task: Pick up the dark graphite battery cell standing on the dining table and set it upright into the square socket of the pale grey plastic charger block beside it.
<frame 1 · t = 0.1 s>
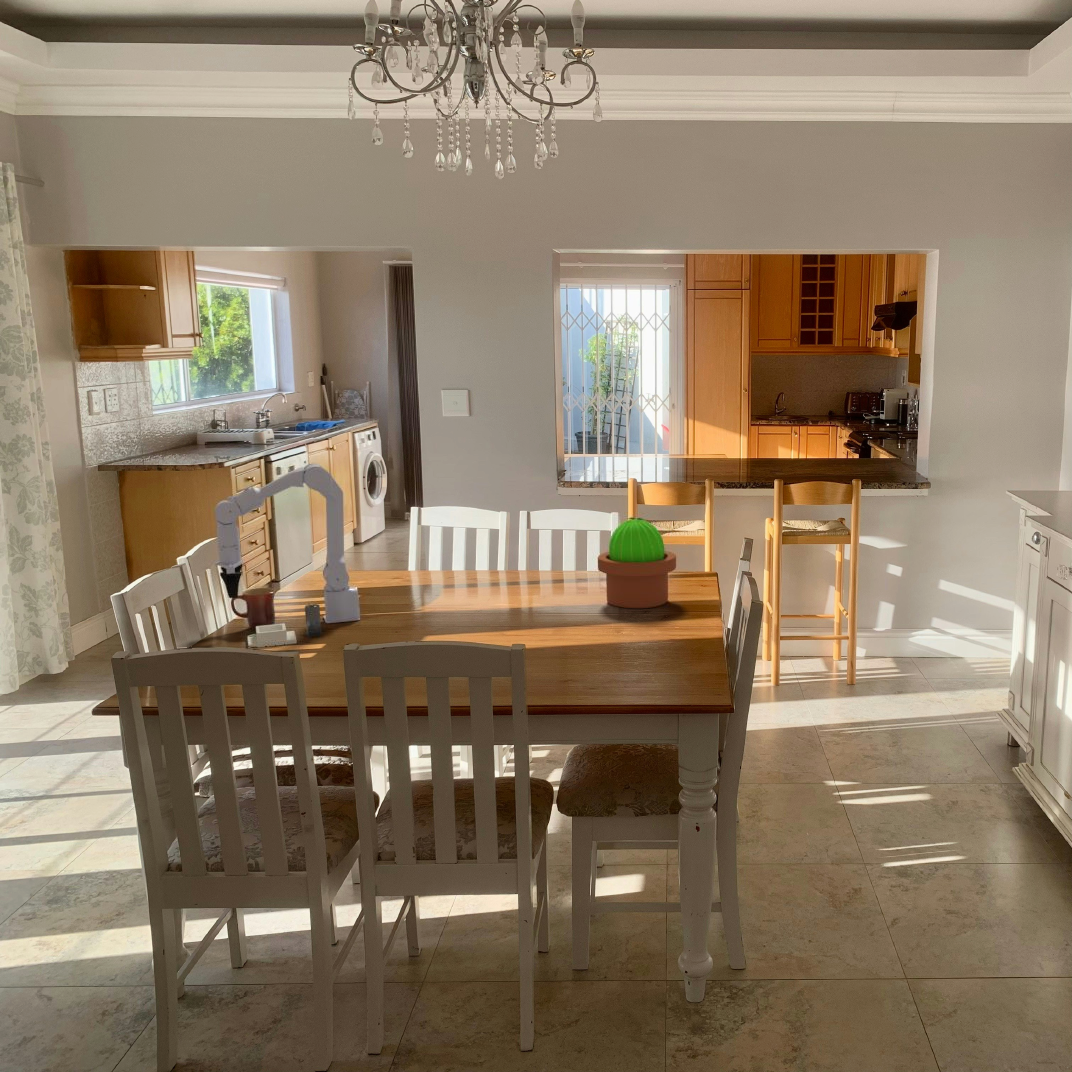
hand: (233, 594, 272), 10 cm above the table, fingers open, 7 cm apart
mug: (256, 628, 275), on the table
charger: (271, 641, 261), on the table
potted cactus: (637, 602, 290), on the table
cell: (314, 635, 266), on the table
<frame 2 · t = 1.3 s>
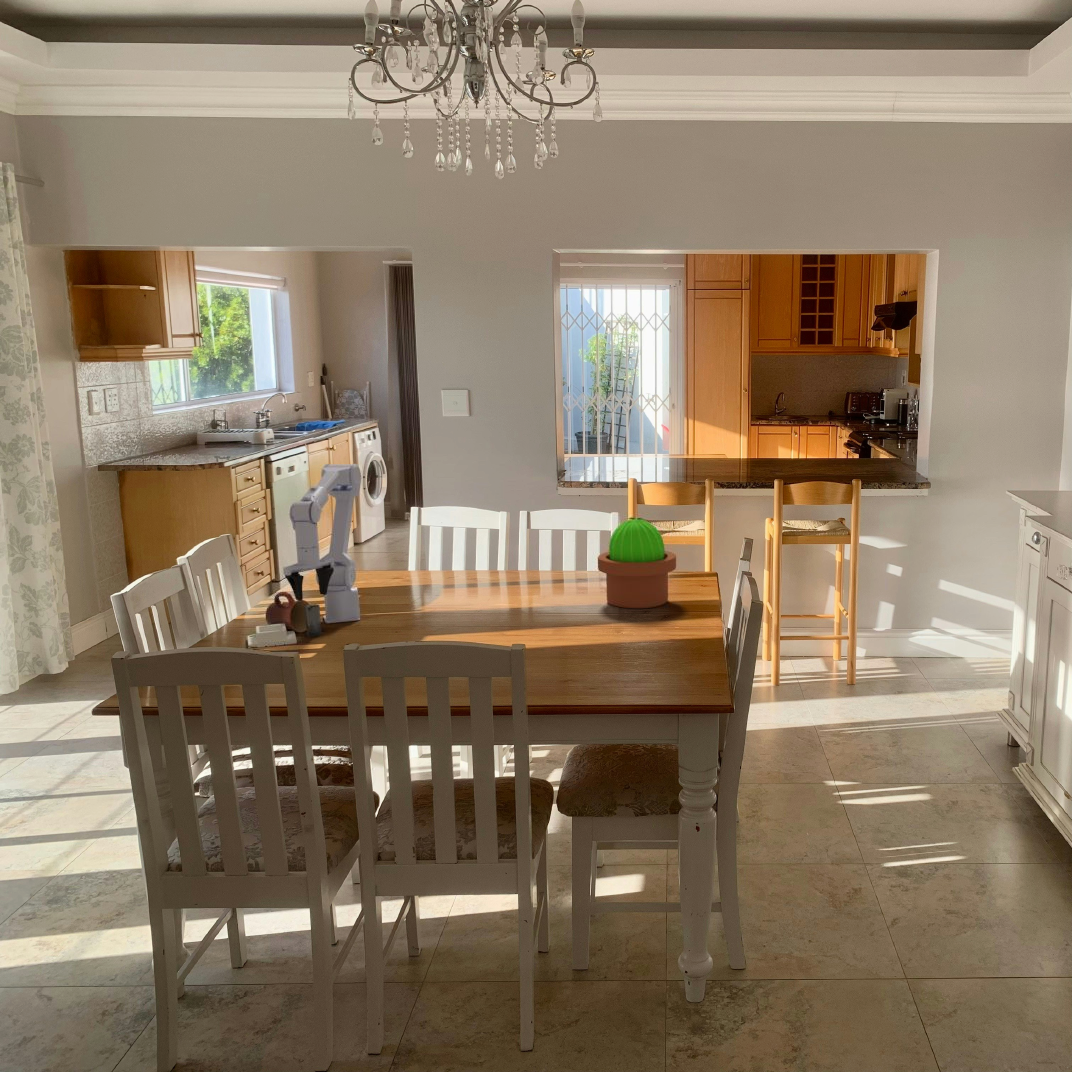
hand: (311, 597, 264), 10 cm above the table, fingers open, 7 cm apart
mug: (270, 610, 273), point 5 cm above the table
everything else where it was.
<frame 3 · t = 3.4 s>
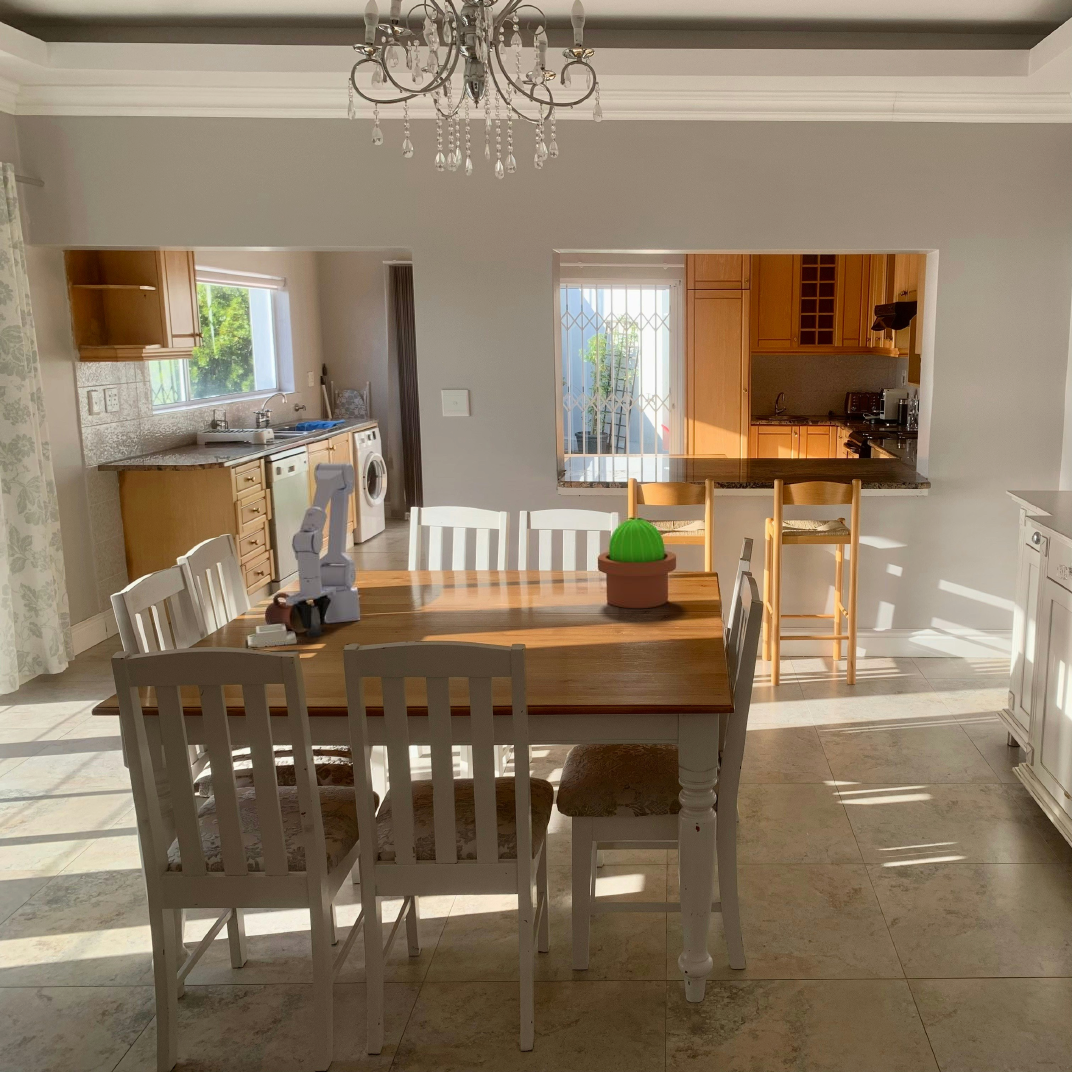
hand: (313, 626, 265), 2 cm above the table, fingers closed on cell, 4 cm apart
mug: (269, 610, 273), point 5 cm above the table, touching charger
cell: (314, 635, 266), on the table, touching gripper
everything else where it was.
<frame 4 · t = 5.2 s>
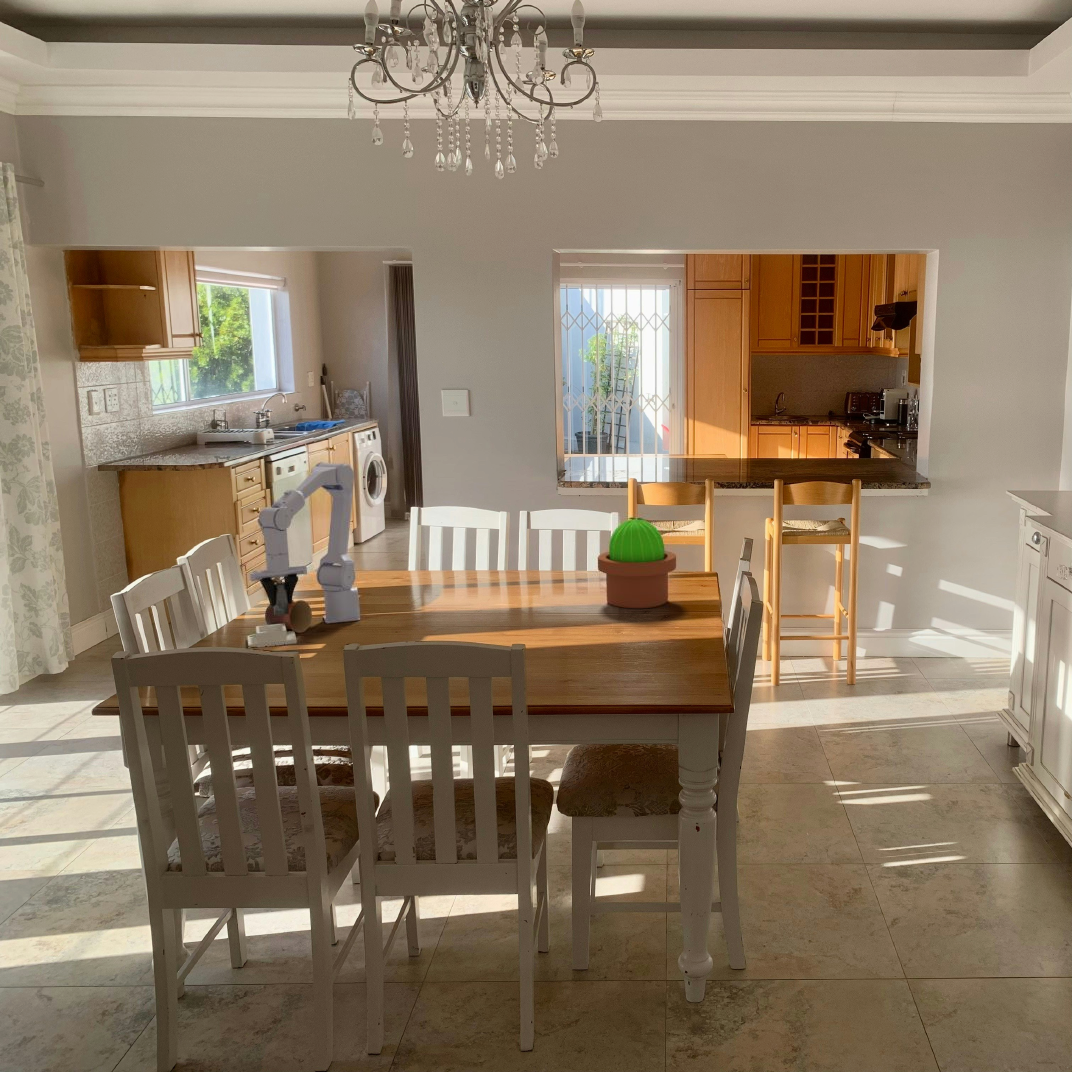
hand: (280, 604, 261), 10 cm above the table, fingers closed on cell, 4 cm apart
cell: (281, 613, 261), point 7 cm above the table, touching gripper
everything else where it was.
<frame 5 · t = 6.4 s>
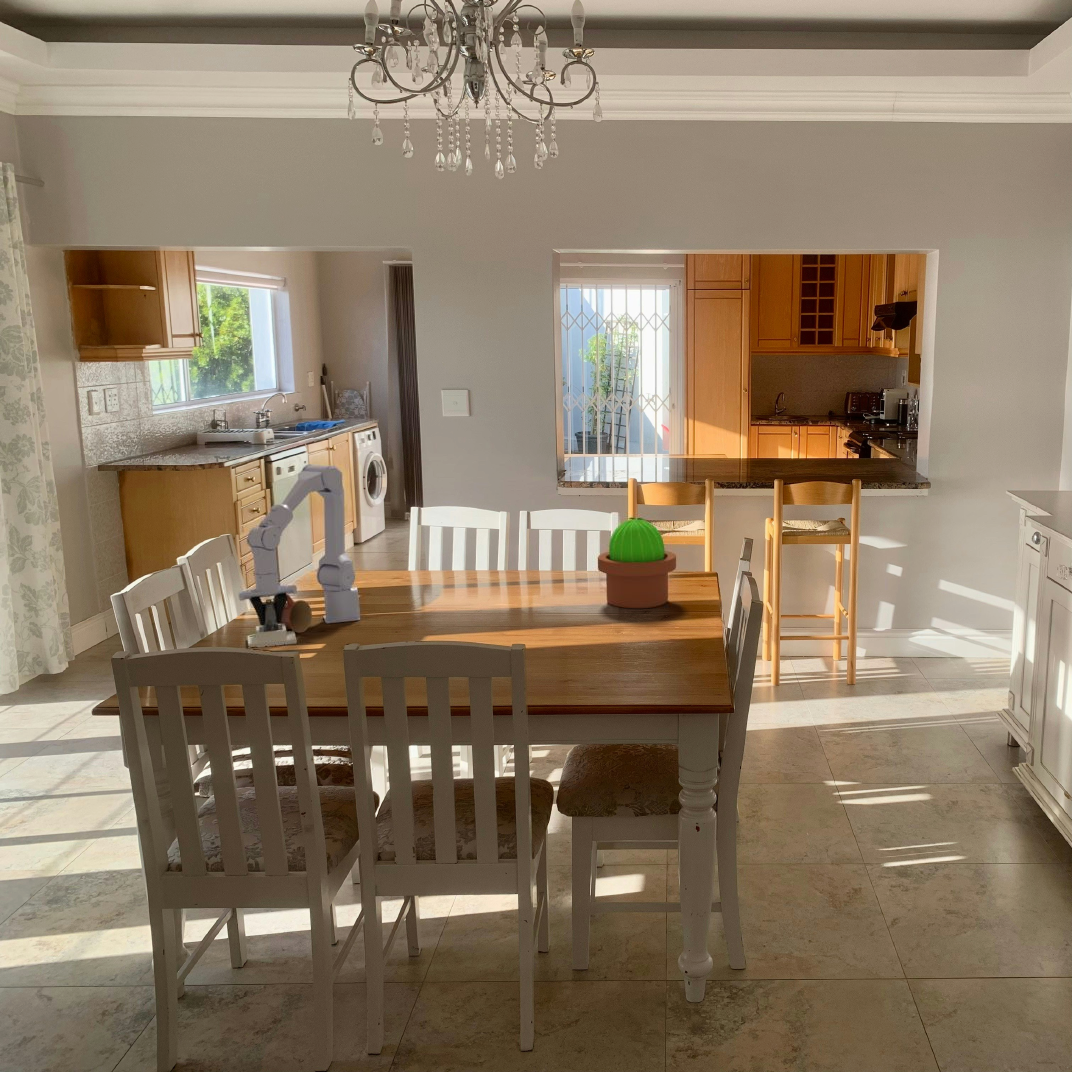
hand: (270, 623, 261), 5 cm above the table, fingers closed on cell, 4 cm apart
cell: (271, 632, 261), point 2 cm above the table, touching gripper
everything else where it was.
when the fingers open (5 cm above the table, at t = 7.1 s): cell drops 1 cm, resting on charger.
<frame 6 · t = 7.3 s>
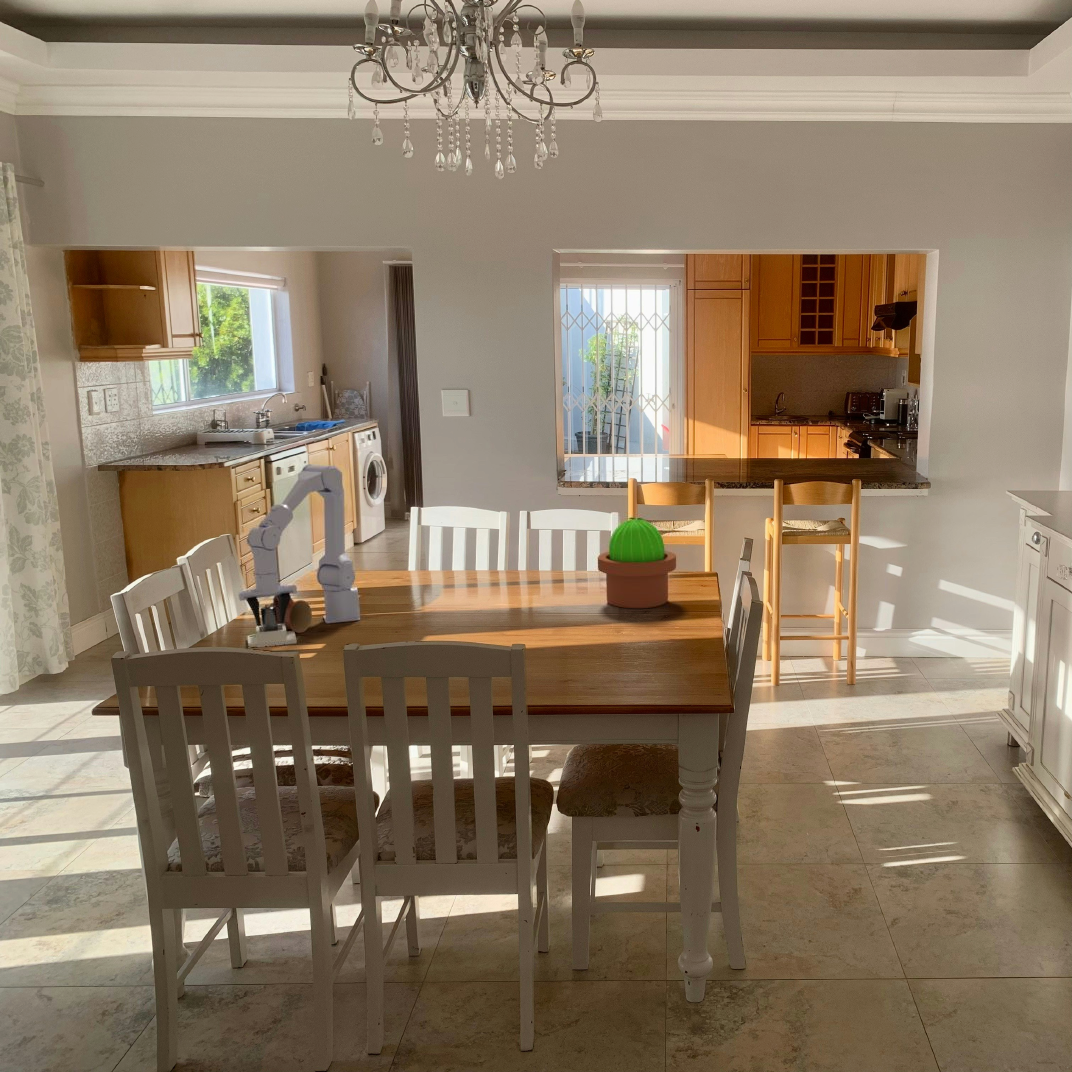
hand: (270, 623, 261), 5 cm above the table, fingers open, 5 cm apart
cell: (271, 637, 261), point 1 cm above the table, touching charger
everything else where it was.
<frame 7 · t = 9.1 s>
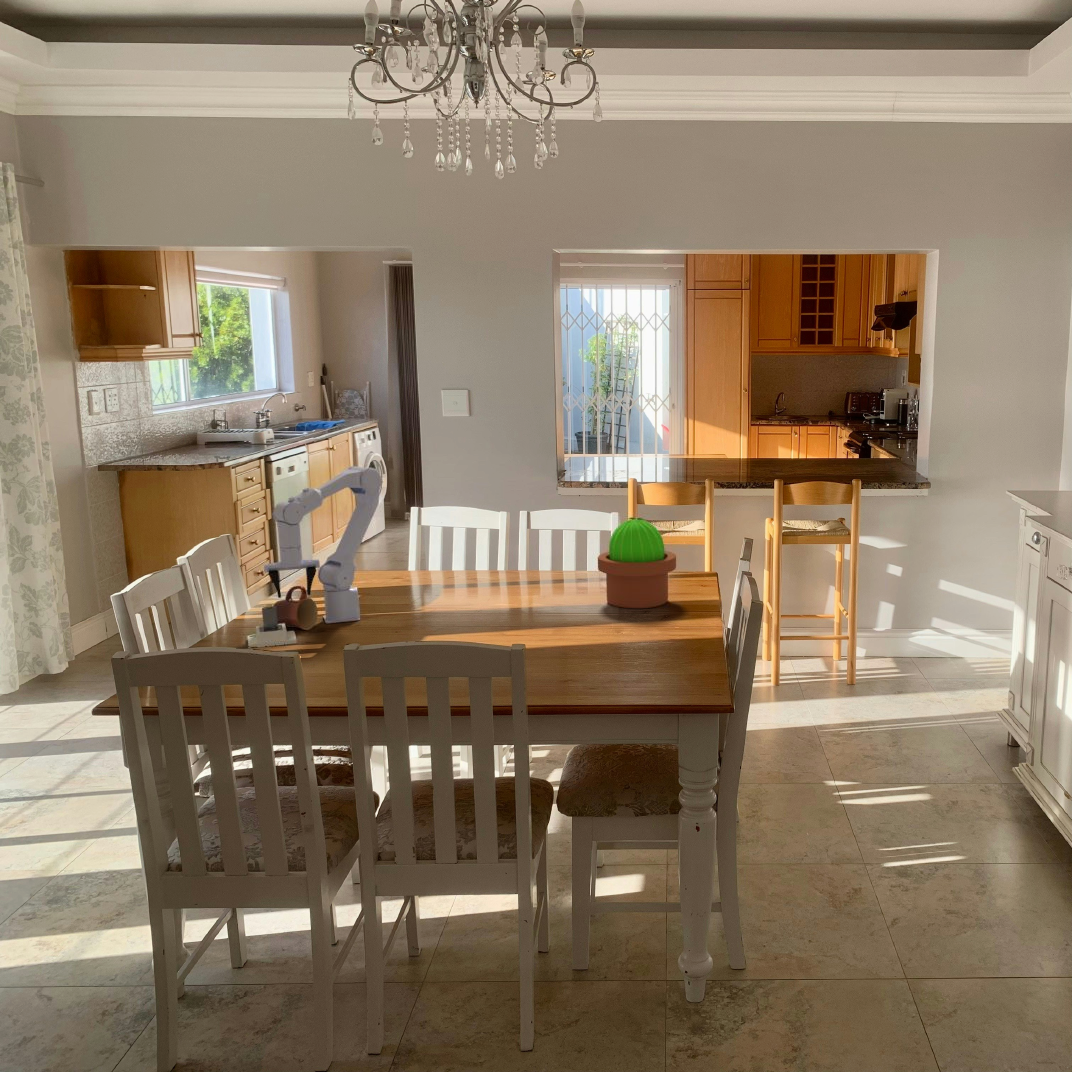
hand: (294, 595, 271), 9 cm above the table, fingers open, 7 cm apart
mug: (277, 607, 276), point 5 cm above the table, touching gripper
everything else where it was.
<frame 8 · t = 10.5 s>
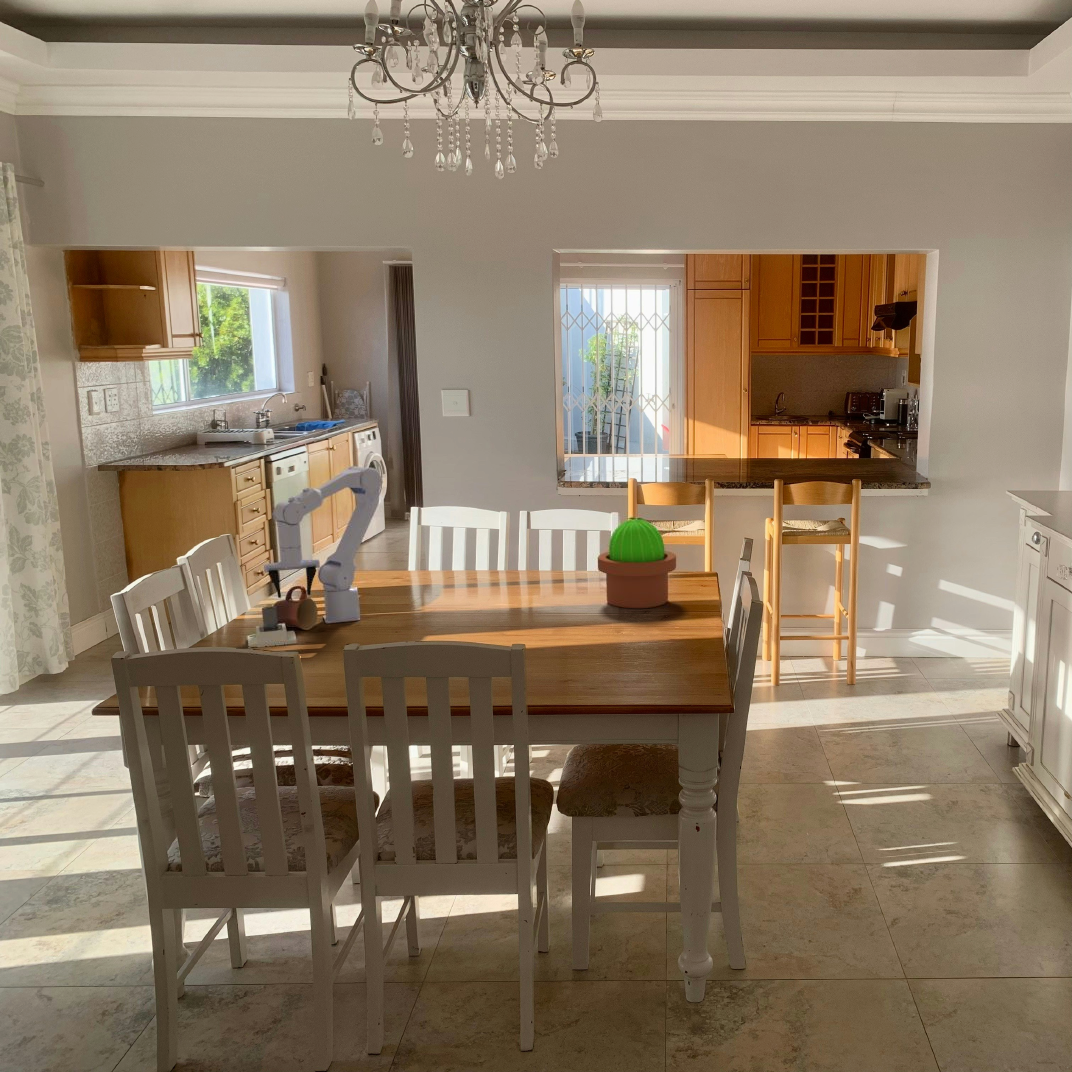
hand: (294, 595, 271), 9 cm above the table, fingers open, 7 cm apart
nothing on the table moved.
at the end: cell 0.1 cm off-centre on the charger, point 1.0 cm above the charger's base; cell tilted 0°; the gripper is holding nothing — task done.
